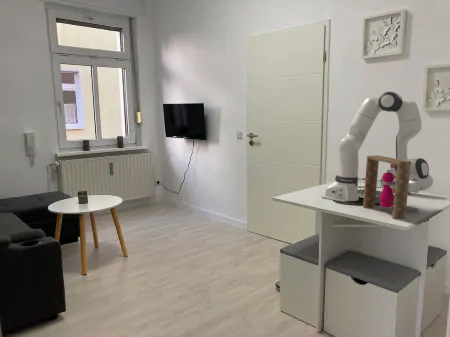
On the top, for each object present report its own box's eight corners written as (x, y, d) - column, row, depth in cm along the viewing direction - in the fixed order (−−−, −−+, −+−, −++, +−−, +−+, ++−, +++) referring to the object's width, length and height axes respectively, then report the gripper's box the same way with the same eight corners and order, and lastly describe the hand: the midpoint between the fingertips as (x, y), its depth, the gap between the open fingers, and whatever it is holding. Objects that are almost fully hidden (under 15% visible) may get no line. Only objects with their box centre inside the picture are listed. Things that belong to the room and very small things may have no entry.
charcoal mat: (395, 210, 205) (396, 209, 205) (397, 206, 214) (397, 205, 214) (418, 213, 200) (418, 212, 199) (418, 208, 209) (418, 207, 209)
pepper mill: (388, 208, 196) (391, 171, 193) (376, 205, 202) (378, 169, 198) (396, 206, 200) (398, 169, 197) (383, 203, 206) (386, 168, 203)
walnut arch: (393, 219, 189) (399, 162, 184) (363, 207, 211) (367, 155, 206) (405, 217, 192) (410, 161, 187) (373, 206, 213) (377, 155, 208)
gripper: (392, 174, 213) (373, 176, 208) (422, 181, 194) (401, 183, 189) (391, 185, 214) (372, 187, 209) (421, 193, 195) (400, 195, 190)
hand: (386, 185), depth 199 cm, fingers closed on pepper mill, 5 cm apart
